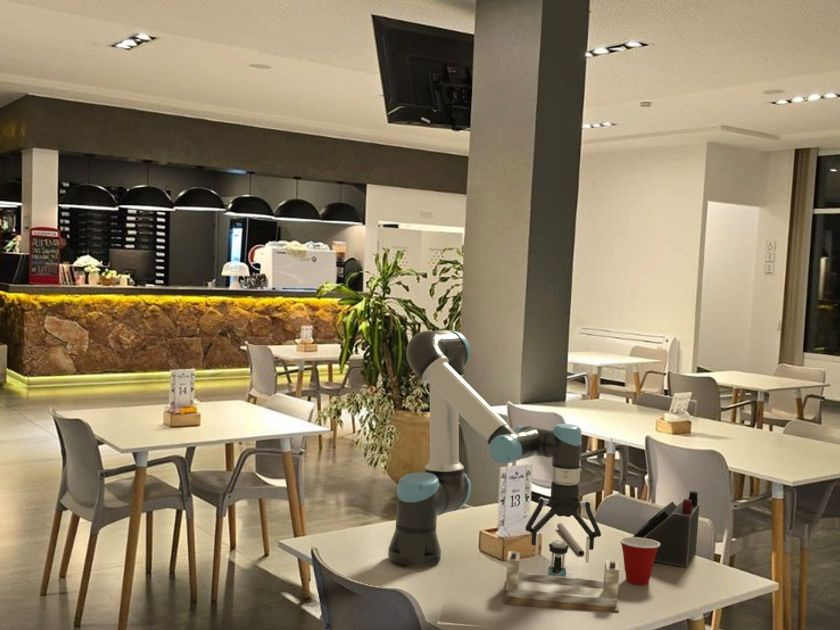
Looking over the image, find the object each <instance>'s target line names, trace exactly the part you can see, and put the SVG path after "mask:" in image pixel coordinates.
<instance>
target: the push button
mask: <svg viewBox="0 0 840 630" xmlns="http://www.w3.org/2000/svg"><path fill="white" fill-rule="evenodd" d="M548 547H549V552H551V556H550V557H551V560H550V561H551V562H550V565H549V566H548V573H547V575H550V576H561V577H571V578H573V577H572V576H571V575H573V573H569V572H567V569H566V566H565V559H566V554H567V553H568V550H569V545H568V544H566V542H565V541H564V540H559V539H555V540H553V541H552V542H550V543H549V544H548ZM569 575H570V576H569Z"/></svg>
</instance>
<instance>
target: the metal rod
mask: <svg viewBox="0 0 840 630" xmlns="http://www.w3.org/2000/svg"><path fill="white" fill-rule="evenodd" d="M556 526H557V527H556V528H557V529H558V530H559V532H560V533H561V534H562V535H563V537H564V538H565V539H566V542H568V544H569V545H570V546H571V547H572V549H573V550H574V551H575V553H576V554H577V556H584V557H585V551H584V550H583V548H582V547H581V546H580V544H579V543H578V542H577V541H576V540H575V538H574V536H573V535H572V534H571V533H570V532H569V531H568V530H567V528H566V527H565V526H564V525H563V523H561V522H559V523H557V525H556Z"/></svg>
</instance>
